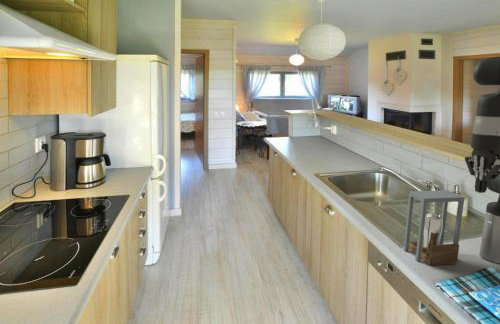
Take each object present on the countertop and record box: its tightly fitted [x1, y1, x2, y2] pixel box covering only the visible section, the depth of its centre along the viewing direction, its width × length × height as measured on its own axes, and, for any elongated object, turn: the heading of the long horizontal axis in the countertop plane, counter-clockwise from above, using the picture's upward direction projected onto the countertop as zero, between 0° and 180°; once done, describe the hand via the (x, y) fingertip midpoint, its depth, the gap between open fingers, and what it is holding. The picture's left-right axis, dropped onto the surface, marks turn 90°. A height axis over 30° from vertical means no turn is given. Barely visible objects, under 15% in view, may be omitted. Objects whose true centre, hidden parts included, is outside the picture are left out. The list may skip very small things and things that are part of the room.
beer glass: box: [422, 212, 443, 253], centre depth 124 cm, size 7×7×15 cm
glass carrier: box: [408, 240, 460, 266], centre depth 124 cm, size 15×10×7 cm
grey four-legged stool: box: [403, 189, 466, 262], centre depth 123 cm, size 9×15×24 cm, turn 96°
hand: (480, 191), depth 97 cm, fingers closed
